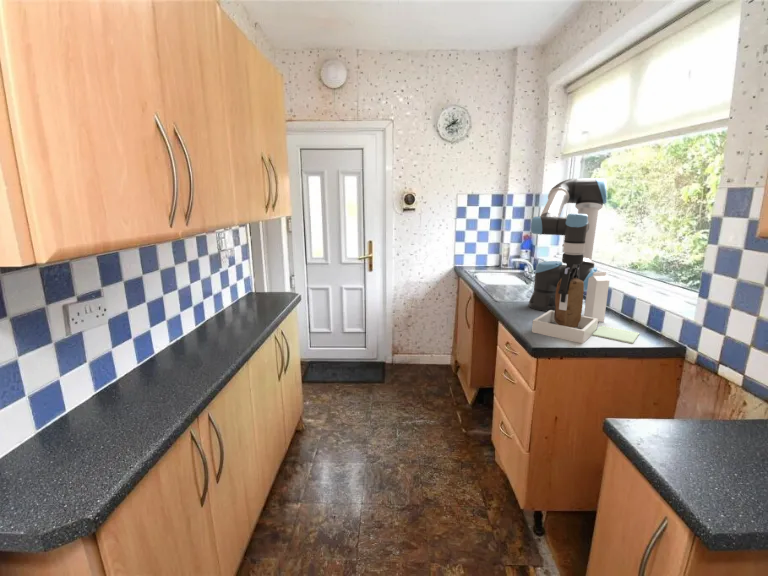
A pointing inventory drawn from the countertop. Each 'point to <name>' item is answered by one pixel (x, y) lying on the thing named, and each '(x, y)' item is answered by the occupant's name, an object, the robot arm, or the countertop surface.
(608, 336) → the mat
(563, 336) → the holder
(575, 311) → the brown rough stone
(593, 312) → the milk
